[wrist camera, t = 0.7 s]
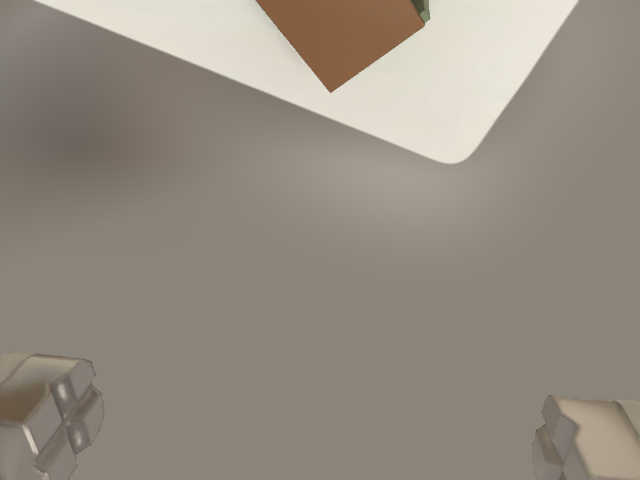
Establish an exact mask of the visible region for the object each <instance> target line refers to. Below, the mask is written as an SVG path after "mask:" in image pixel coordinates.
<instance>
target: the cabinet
mask: <svg viewBox="0 0 640 480" xmlns="http://www.w3.org/2000/svg"><path fill="white" fill-rule="evenodd" d="M256 1H257V3H258V4H259V5H260V6H261V7H262V9H263V10H264V11H265V12H266V14H267V15H268V16H269V17H270V19H271V20H272V21H273V22H274V24H275V25H276V26H277V27H278V29H279V30H280V31H281V32H282V34H283V35H284V36H285V37H286V38H287V40H288V41H289V42H290V43H291V45H292V46H293V47H294V48H295V50H296V51H297V52H298V53H299V55H300V56H301V57H302V58H303V60H304V61H305V62H306V63H307V65H308V66H309V67H310V68H311V69H312V71H313V72H314V73H315V74H316V76H317V77H318V78H319V79H320V81H321V82H322V83H323V84H324V86H325V87H326V88H327V89H328V91H329V92H330V93H331V92H333V91H334V90H336V89H337V88H338V87H340V86H341V85H343V84H344V83H345V82H347V81H348V80H350V79H351V78H352V77H354V76H355V75H357V74H358V73H359V72H361V71H362V70H364V69H365V68H366V67H368V66H369V65H371V64H372V63H374V62H375V61H376V60H378V59H379V58H381V57H382V56H383V55H385V54H386V53H388V52H389V51H390V50H392V49H393V48H395V47H396V46H397V45H399V44H400V43H402V42H403V41H404V40H406V39H407V38H409V37H410V36H412V35H413V34H414V33H416V32H417V31H419V30H420V29H421V28H423V27H424V26H425V23H426V22H427V21H428V20H430V12H429V1H428V0H256Z"/></svg>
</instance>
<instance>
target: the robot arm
mask: <svg viewBox="0 0 640 480" xmlns="http://www.w3.org/2000/svg"><path fill="white" fill-rule="evenodd" d="M95 376H96V373H95V370H94V367H93V365H92V362H91V361H89V360H86V359H80V358H70V357H62V356H52V355H43V354H27V353H18V352H9V353H6V354H4V355H1V356H0V480H69V479H70V477H71V475H72V474H73V472H74V471H75V469H76V468H77V457H76V454H78V453H79V452H81V451H82V450H84V449H85V448H87V447H88V446H90V445H91V444H92V442H93V441H94V439H95V437H96V436H97V434H98V432H99V431H100V427H101V424H102V420H103V417H104V400H103V397H102V393H101V392H100V391H99V390H98V389H97V388H95V387H94V386H93V385H92V384H91V383H92V381H93V379H94V378H95ZM542 415H543V418H544V420H545V423H546V424H544V425H543V426H542V427H540V428H539V429H538V430H536V433H535V437H534V441H533V467H534V472H535V477H536V480H640V401H628V400H609V399H596V398H581V397H567V396H552V395H549V396H548V398H547V399H546V400H545V402H544V405H543V408H542Z"/></svg>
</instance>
